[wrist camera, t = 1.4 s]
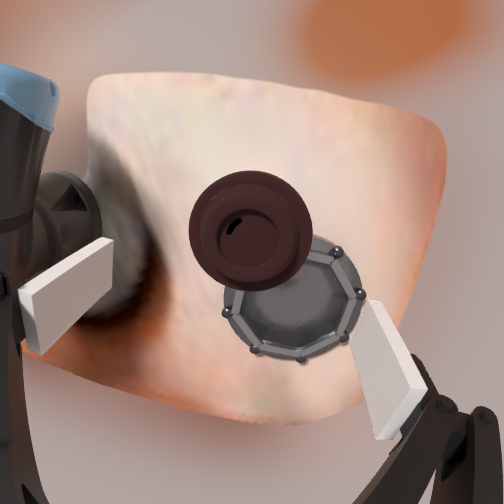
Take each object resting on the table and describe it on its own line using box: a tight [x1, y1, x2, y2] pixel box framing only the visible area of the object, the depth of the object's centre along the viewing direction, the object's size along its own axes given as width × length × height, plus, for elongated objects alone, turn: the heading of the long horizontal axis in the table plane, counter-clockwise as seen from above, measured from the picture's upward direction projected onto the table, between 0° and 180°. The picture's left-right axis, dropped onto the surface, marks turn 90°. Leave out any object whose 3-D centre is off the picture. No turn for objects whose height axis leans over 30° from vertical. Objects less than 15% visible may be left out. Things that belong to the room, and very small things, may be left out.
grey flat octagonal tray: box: [222, 235, 366, 363], centre depth 40 cm, size 18×18×2 cm
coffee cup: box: [189, 171, 313, 292], centre depth 31 cm, size 10×10×15 cm
